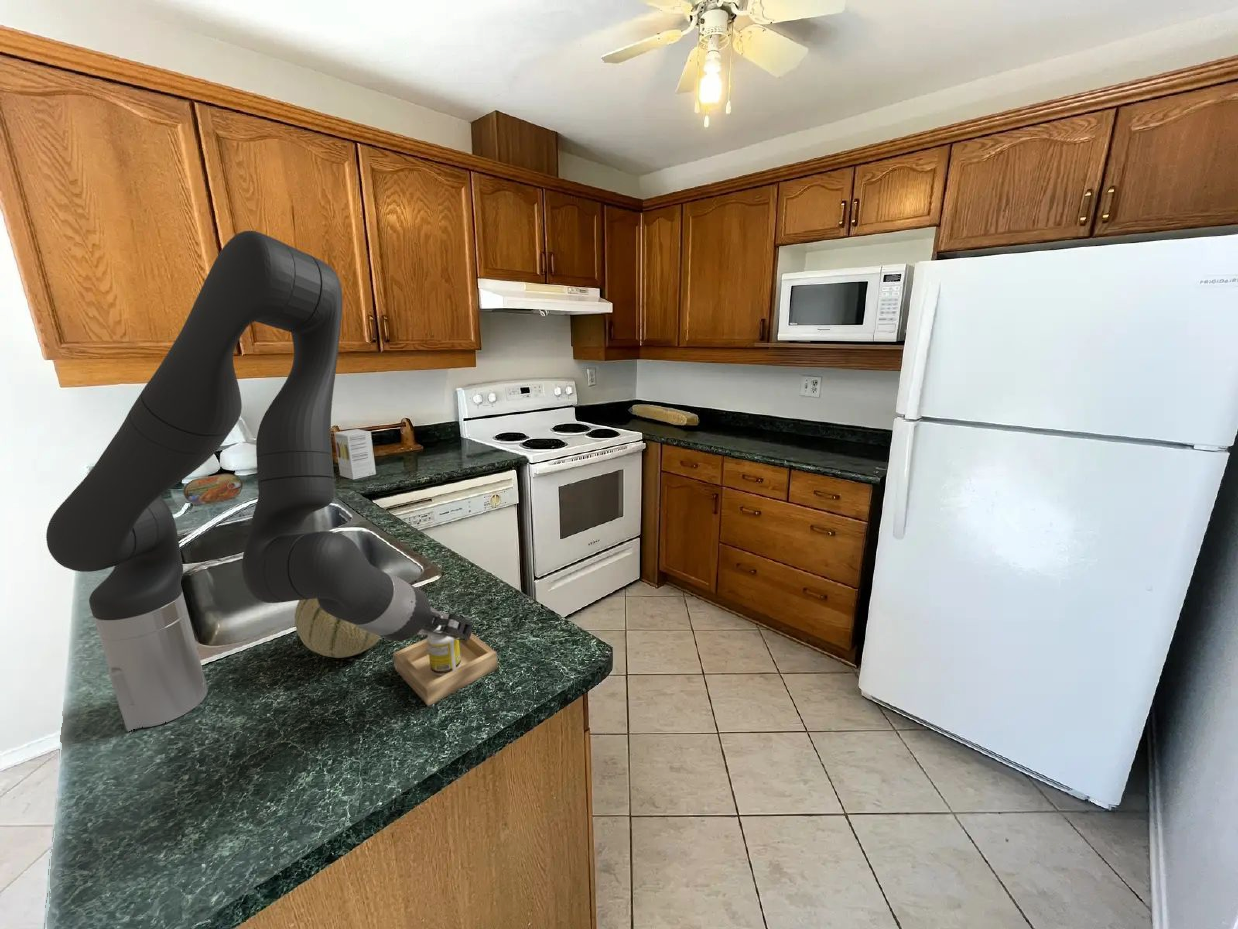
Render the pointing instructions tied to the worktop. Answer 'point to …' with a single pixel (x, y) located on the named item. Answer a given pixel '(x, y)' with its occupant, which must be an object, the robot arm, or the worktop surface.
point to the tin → (213, 489)
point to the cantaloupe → (330, 632)
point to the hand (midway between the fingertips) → (443, 632)
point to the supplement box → (355, 453)
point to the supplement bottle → (443, 654)
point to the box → (435, 687)
